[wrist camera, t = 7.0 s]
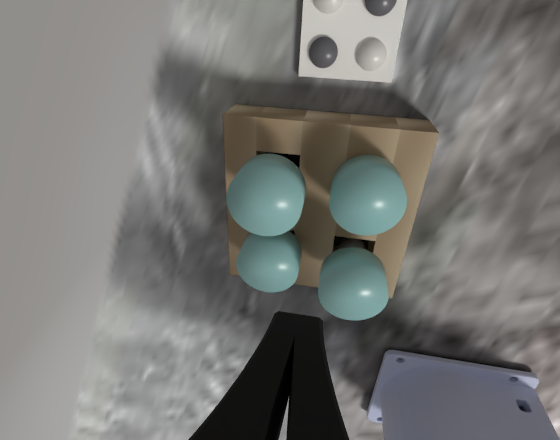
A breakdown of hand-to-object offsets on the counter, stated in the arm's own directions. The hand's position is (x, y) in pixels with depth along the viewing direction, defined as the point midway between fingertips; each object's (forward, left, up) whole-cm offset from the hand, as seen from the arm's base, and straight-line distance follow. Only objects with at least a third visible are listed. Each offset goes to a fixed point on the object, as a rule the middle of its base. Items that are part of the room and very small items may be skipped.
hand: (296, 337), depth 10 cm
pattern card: (0, -8, -9) cm, 12 cm away
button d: (+2, -2, -8) cm, 8 cm away
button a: (-2, +2, -8) cm, 8 cm away
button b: (+2, +2, -9) cm, 9 cm away
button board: (0, 0, -9) cm, 9 cm away
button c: (-2, -2, -9) cm, 9 cm away
